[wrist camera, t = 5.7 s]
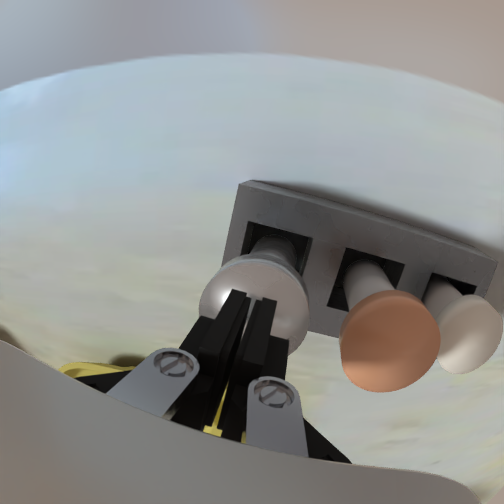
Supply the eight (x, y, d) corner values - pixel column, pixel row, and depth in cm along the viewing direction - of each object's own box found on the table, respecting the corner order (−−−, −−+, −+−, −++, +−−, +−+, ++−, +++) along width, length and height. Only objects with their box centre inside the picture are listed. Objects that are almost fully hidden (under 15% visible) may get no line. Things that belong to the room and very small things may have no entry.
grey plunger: (317, 232, 20) (324, 282, 12) (298, 295, 21) (291, 374, 13) (248, 213, 20) (208, 251, 12) (233, 278, 22) (192, 346, 13)
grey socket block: (473, 246, 21) (497, 262, 17) (436, 335, 23) (452, 361, 20) (250, 179, 23) (238, 184, 19) (227, 282, 25) (213, 304, 21)
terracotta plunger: (404, 257, 19) (456, 317, 11) (381, 316, 21) (412, 398, 13) (342, 239, 20) (364, 293, 12) (321, 301, 21) (326, 382, 13)
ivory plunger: (459, 266, 21) (514, 313, 13) (438, 316, 23) (480, 377, 15) (413, 251, 22) (459, 298, 14) (392, 304, 23) (424, 368, 15)
